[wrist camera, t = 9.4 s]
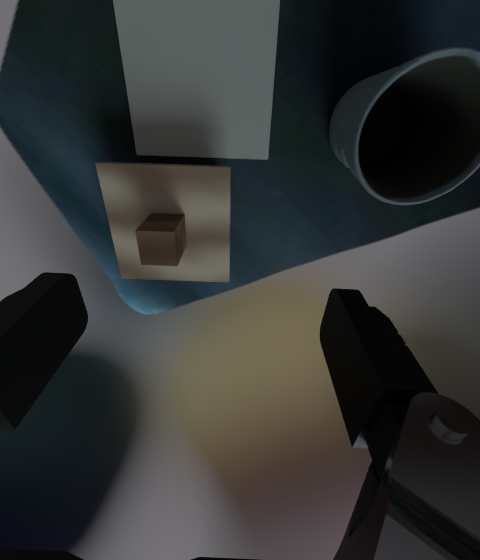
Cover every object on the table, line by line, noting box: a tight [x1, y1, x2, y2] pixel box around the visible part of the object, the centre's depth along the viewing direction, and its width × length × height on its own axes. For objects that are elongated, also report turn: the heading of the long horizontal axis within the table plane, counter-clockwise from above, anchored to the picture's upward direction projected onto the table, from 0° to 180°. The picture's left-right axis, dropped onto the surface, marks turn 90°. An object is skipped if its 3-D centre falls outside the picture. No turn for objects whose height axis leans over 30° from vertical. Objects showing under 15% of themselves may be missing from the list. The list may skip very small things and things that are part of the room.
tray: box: [113, 0, 280, 160], centre depth 28 cm, size 15×15×1 cm
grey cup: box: [329, 47, 480, 205], centre depth 25 cm, size 10×10×12 cm
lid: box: [95, 162, 231, 282], centre depth 28 cm, size 13×13×6 cm
